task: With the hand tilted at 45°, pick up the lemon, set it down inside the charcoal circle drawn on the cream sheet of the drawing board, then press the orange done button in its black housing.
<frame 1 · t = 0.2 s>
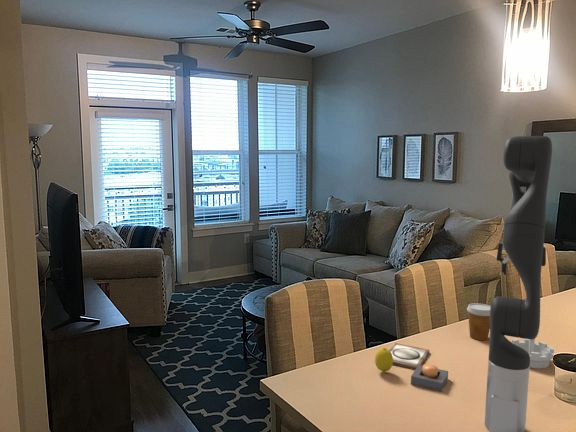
hand: (519, 276, 153), 29 cm above the table, tool pointing down, fingers open, 8 cm apart
drawing board: (406, 357, 160), on the table
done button: (430, 371, 142), point 3 cm above the table, slide at 0.0 cm
lemon: (383, 373, 148), on the table
disposable coffee cup: (478, 337, 178), on the table
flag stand: (530, 361, 157), on the table
button housing: (429, 381, 142), on the table
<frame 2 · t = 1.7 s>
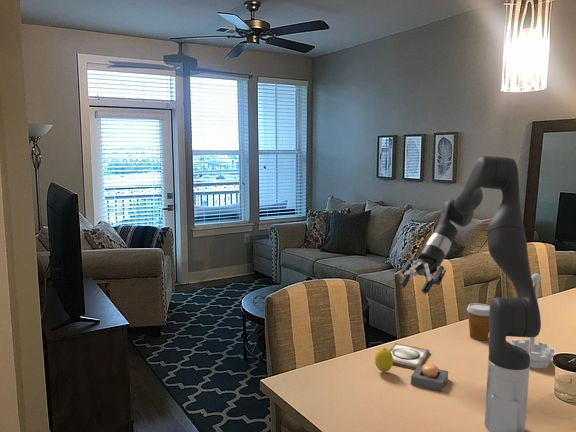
hand: (412, 289, 153), 25 cm above the table, tool tilted 45°, fingers open, 8 cm apart
nothing on the table moved.
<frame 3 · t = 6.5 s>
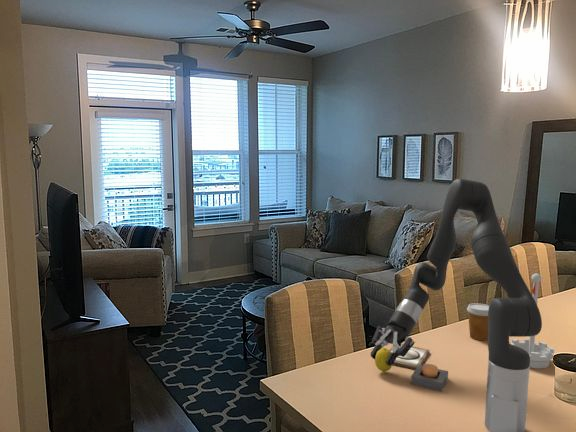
hand: (380, 360, 146), 4 cm above the table, tool tilted 45°, fingers closed on lemon, 5 cm apart
lemon: (383, 372, 148), on the table, touching gripper
everything else where it was.
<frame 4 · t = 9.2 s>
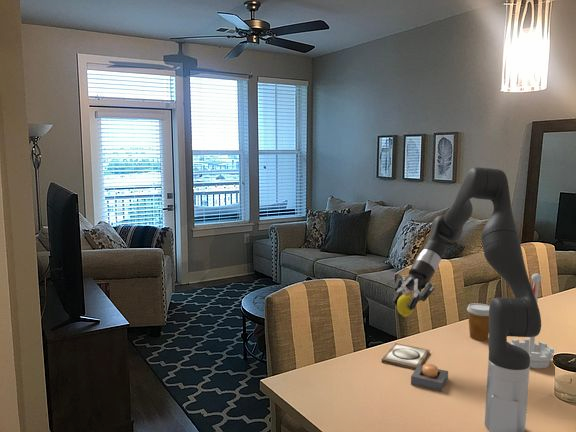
hand: (402, 306, 155), 19 cm above the table, tool tilted 45°, fingers closed on lemon, 5 cm apart
lemon: (404, 317, 157), point 14 cm above the table, touching gripper
everything else where it was.
when the fingers open (6 cm above the table, at t = 12.1 s): lemon stays where it is, resting on drawing board.
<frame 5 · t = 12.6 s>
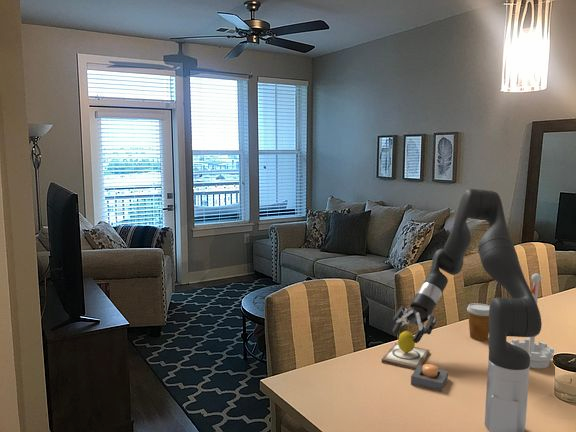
hand: (404, 337, 158), 7 cm above the table, tool tilted 45°, fingers open, 8 cm apart
lemon: (406, 353, 160), point 1 cm above the table, touching drawing board
everything else where it was.
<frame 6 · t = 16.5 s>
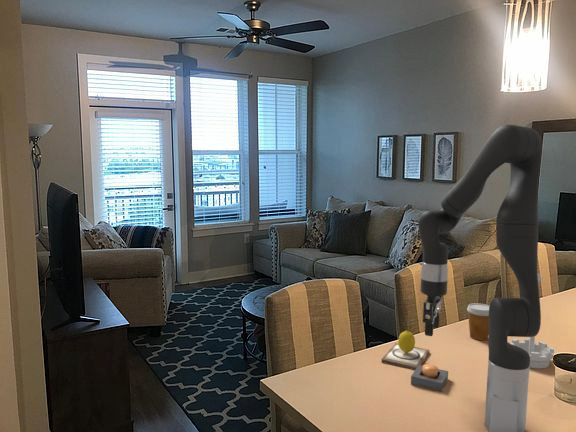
hand: (431, 331, 140), 16 cm above the table, tool pointing down, fingers open, 7 cm apart
nothing on the table moved.
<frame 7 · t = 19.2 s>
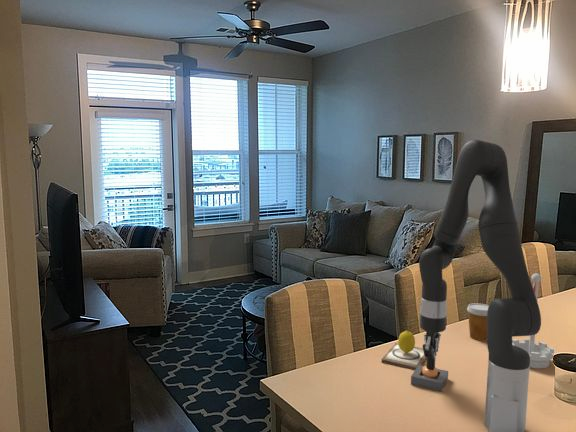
hand: (430, 368, 142), 4 cm above the table, tool pointing down, fingers closed
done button: (429, 372, 142), point 3 cm above the table, slide at 0.5 cm, touching gripper
everything else where it was.
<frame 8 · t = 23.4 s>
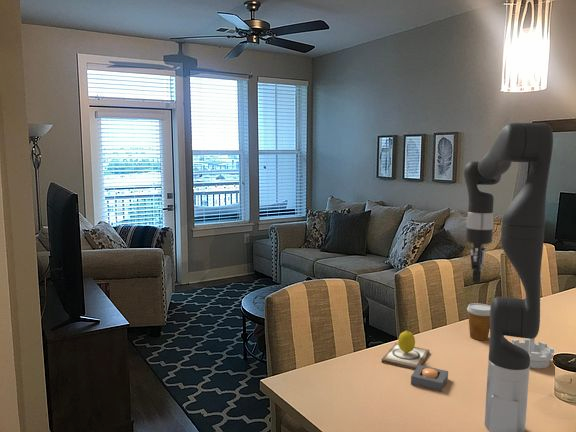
hand: (476, 282, 146), 29 cm above the table, tool pointing down, fingers closed
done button: (429, 375, 142), point 2 cm above the table, slide at 1.3 cm
everything else where it was.
at the end: lemon 0.2 cm off-centre on the drawing board, point 1.1 cm above the drawing board's base; lemon tilted 0°; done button slide at 1.3 cm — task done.
